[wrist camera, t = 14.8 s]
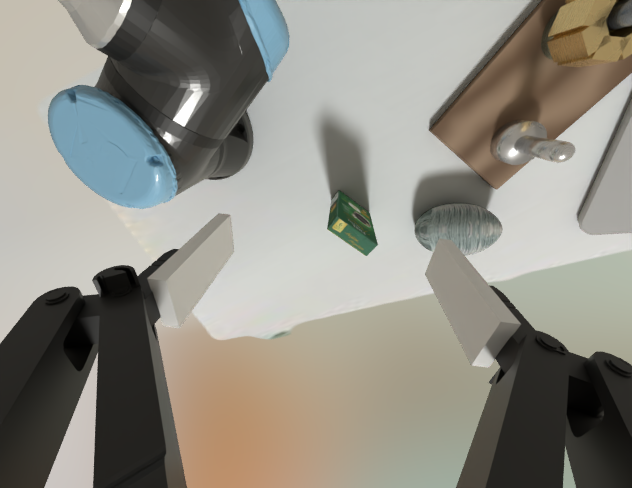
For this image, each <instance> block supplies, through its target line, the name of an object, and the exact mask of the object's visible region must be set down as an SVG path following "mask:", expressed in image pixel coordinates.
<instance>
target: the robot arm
mask: <svg viewBox="0 0 632 488" xmlns="http://www.w3.org/2000/svg"><path fill="white" fill-rule="evenodd" d="M58 1H59V2H60V3H61V4H62V5H63V6H64V7H65V8H66V9H67V11H68V13H69V14H70V16H71V18H72V19H73V21H74V23H75V24H76V26H77V28H78V29H79V31H80V32H81V34H82V36H83V38H84V39H85V41H86V42H87V43H88V44H89V45H91V46H92V47H94V48H96V49H97V50H99V51H101V52H103V53H104V54H106V55H108V58H107V61H106V63H105V65H104V68H103V70H102V72H101V75H100V77H99V80H98V82H97V84H96V86H95V87H90V86H87V85H78V86H75V87H72V88H70V89H66V90H63V91H61V92H59V93H58V94H57V95H56V96H55V97H54V98H53V99H52V101H51V103H50V106H49V110H48V124H49V129H50V133H51V136H52V139H53V141H54V144H55V146H56V148H57V150H58V152H59V153H60V154H61V155H62V157H63V158H64V160H65V162H66V164H67V165H68V167H69V168H70V169H71V170H72V172H73V173H74V174H75V175H76V176H77V177H78V178H79V179H80V180H81V181H82V182H83V183H84V184H85V185H86V186H88V187H89V188H90V189H91V190H93V191H94V192H95V193H97V194H98V195H100V196H102V197H103V198H105V199H107V200H109V201H111V202H113V203H115V204H118V205H121V206H124V207H128V208H132V207H133V208H139V209H144V208H150V207H153V206H156V205H158V204H161V203H165V202H168V201H170V200H171V199H172V198H174V196H176V195H178V194H179V193H181V192H183V191H185V190H186V189H188V188H190V187H192V186H193V185H195V184H197V183H199V182H200V181H202V180H204V179H210V180H220V179H225V178H228V177H230V176H232V175H234V174H236V173H237V172H239V171H240V170H241V169H242V168H243V167H244V166H245V165H246V164H247V162H248V160H249V158H250V156H251V153H252V149H253V132H252V127H251V124H250V121H249V118H248V116H247V114H246V112H245V111H246V110H247V108H248V107H249V105H250V104H251V103H252V101H253V100H254V99H255V97H256V96H257V94H258V93H259V92H260V90H261V89H262V87H263V86H264V85H265V83H266V82H270V81H271V79H272V75H273V72H274V71H275V69H276V68H277V66H278V65H279V63H280V62H281V60H282V59H283V57H284V56H285V54H286V52H287V50H288V47H289V32H288V27H287V24H286V21H285V19H284V17H283V14H282V12H281V10H280V8H279V6H278V4H277V2H276V1H275V0H58ZM233 252H234V245H233V235H232V225H231V215H228V214H217V215H216V216H215V217H214V218H213V219H212V220H211V221H210V222H209V223H208V224H206V225H205V226H204V227H203V228H202V229H201V230H200V231H199V232H198V233H197V234H196V235H194V236H193V237H192V238H191V239H190V240H189V241H188V242H187V243H186V244H185V245H183V246H182V247H181V248H180V249H173V250H170V251H168V252H166V253H164V254H163V255H162V256H161V257H160V258H158V259H157V261H155V262H154V263H153V264H152V265H151V266H149V267H148V268H147V269H146V270H144V271H143V272H142V273H141V274H140V275H139V276H137V275H136V272H135V270H134V268H133V267H131V266H125V265H121V266H114V267H111V268H108V269H105V270H103V271H101V272H99V273H98V274H97V275H96V276H94V278H93V280H92V281H93V283H94V285H95V287H96V289H97V291H98V293H99V294H97V295H87V296H83V295H82V294H81V292H80V290H79V289H78V288H76V287H62V288H57V289H54V290H51V291H49V292H47V293H45V294H43V295H41V296H40V297H38V298H37V299H36V300H35V301H34V302H33V303H32V305H31V306H30V307H29V308H28V310H27V311H26V312H25V313H24V315H23V316H22V317H21V318H20V320H19V321H18V322H17V323H16V325H15V326H14V327H13V328H12V330H11V331H10V332H9V334H8V335H7V336H6V337H5V339H4V340H3V341H2V342H1V344H0V488H44V486H45V484H46V482H47V479H48V477H49V474H50V471H51V469H52V466H53V464H54V461H55V459H56V456H57V454H58V451H59V449H60V446H61V444H62V441H63V439H64V436H65V434H66V431H67V429H68V426H69V424H70V421H71V418H72V416H73V413H74V411H75V408H76V406H77V403H78V401H79V398H80V396H81V393H82V391H83V388H84V386H85V383H86V381H87V378H88V376H89V373H90V371H91V368H92V366H93V363H94V360H95V358H96V355H97V353H98V373H97V400H96V427H95V455H94V481H93V488H187V486H186V481H185V476H184V470H183V465H182V460H181V455H180V450H179V445H178V440H177V434H176V429H175V424H174V419H173V413H172V408H171V403H170V398H169V393H168V387H167V382H166V378H165V372H164V367H163V362H162V356H161V351H160V346H159V341H158V336H157V331H156V327H155V323H156V321H157V320H158V319H159V318H161V321H162V324H163V326H167V327H174V328H180V327H181V326H182V324H183V323H184V321H185V320H186V319H187V317H188V316H189V314H190V313H191V312H192V310H193V309H194V307H195V306H196V305H197V303H198V302H199V300H200V299H201V298H202V296H203V295H204V293H205V292H206V290H207V289H208V288H209V286H210V285H211V283H212V282H213V281H214V279H215V278H216V276H217V275H218V274H219V272H220V271H221V269H222V268H223V267H224V265H225V264H226V262H227V261H228V259H229V258H230V257H231V255H232V254H233ZM425 275H426V277H427V279H428V281H429V283H430V285H431V287H432V289H433V291H434V293H435V295H436V297H437V299H438V301H439V303H440V305H441V307H442V308H443V311H444V313H445V315H446V316H447V319H448V320H449V322H450V324H451V326H452V328H453V330H454V332H455V334H456V336H457V338H458V340H459V342H460V344H461V346H462V348H463V350H464V352H465V354H466V356H467V358H468V360H469V362H470V364H471V365H472V366H480V367H488V368H489V367H490V365H491V364H492V363H493V361H494V360H495V359H496V360H497V362H498V363H499V365H500V368H499V370H498V371H497V372H496V374H495V375H494V376H493V377H492V379H491V380H490V381H489V383H490V384H492V383H493V384H492V387H491V390H490V392H489V396H488V398H487V401H486V404H485V407H484V410H483V412H482V415H481V418H480V421H479V424H478V427H477V430H476V432H475V435H474V438H473V441H472V444H471V447H470V449H469V452H468V455H467V458H466V461H465V464H464V467H463V469H462V472H461V475H460V478H459V481H458V484H457V487H456V488H563V473H564V472H563V471H564V452H565V446H566V450H567V454H568V457H569V461H570V465H571V469H572V473H573V477H574V481H575V484H576V488H632V366H631V365H630V364H629V363H627V362H626V361H624V360H622V359H621V358H618V357H616V356H614V355H612V354H608V353H605V352H595V353H594V354H593V355H592V356H591V357H590V358H589V359H588V358H585V357H582V356H579V355H576V354H573V353H570V352H569V351H568V350H567V349H566V347H565V346H564V345H563V344H562V343H561V342H559V341H558V340H557V339H555V338H554V337H552V336H550V335H548V334H546V333H543V332H540V331H536V330H535V329H534V328H533V327H532V326H531V325H530V324H529V322H528V321H527V320H526V319H525V318H524V317H523V316H522V314H521V313H520V312H519V311H518V310H517V309H515V306H514V305H513V304H512V303H510V301H509V299H508V298H507V297H506V296H505V295H504V294H503V293H502V292H501V291H499V290H498V289H497V288H495V287H494V286H489V285H488V284H487V282H486V281H485V280H484V279H483V278H482V276H481V275H480V274H479V273H478V272H477V270H476V269H475V268H474V267H473V265H472V264H471V263H470V262H469V261H468V259H467V258H466V257H465V256H464V255H463V253H462V252H461V251H460V250H459V249H458V247H457V246H456V245H455V244H454V243H453V241H452V240H447V239H439V240H438V242H437V245H436V247H435V250H434V252H433V255H432V257H431V260H430V263H429V265H428V268H427V270H426V273H425Z"/></svg>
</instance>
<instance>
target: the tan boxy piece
mask: <svg viewBox="0 0 632 488" xmlns="http://www.w3.org/2000/svg"><path fill="white" fill-rule="evenodd" d="M621 1H624V0H566V1H565V2H566V5H564V6H562V7H560V9H559V12H558V14H557V16H556V19H555V21H554V23H553V25H552V28H551V30H550V32H549V34H548V37H553V38H552V39H551V40H549V41H548V42H547V44H548V47H549V50H550V53H551V56H552V59H553V62H554V63H555V62H558V64H557V65H559V66H569V67H584V66H590V65H597V64H603V63H610V62H617V61H618V60H623V59H625V58H626V57H628V56H629V55H631V54H632V25H631V26H628V27H624V28H620V29H616V30H613V31H609V32H608V27H607V23H606V19H607V17H608V15H609V13H610V11H611V10H612V8H613V6H614V4H615V3H618V2H621Z"/></svg>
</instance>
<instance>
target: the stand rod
mask: <svg viewBox="0 0 632 488" xmlns="http://www.w3.org/2000/svg"><path fill="white" fill-rule="evenodd" d="M490 152H491V154H492V156H493V157H494V158H495V159H497V160H499V161H502V162H505V163H508V164H511V165H520V164H524V163H526V162H528V161H530V160H532V159H533V158H534V157H537V158H540V159H544V160H548V161H552V162H556V163H559V162H564V161H566V160H568V159H570V158H571V157H572V156H573V155H574V153H575V147H574V145H573V144H572V143H570V142H565V141H559V140H553V139H547V131H546V129H545V127H544V126H543V125H542V124H541V123H539V122H535V121H524V120H515V121H511V122H509V123H506V124H505V125H503V126H502V127H501V128H500V129H498V131H497V132H496V133H495V134H494V136H493V138H492V140H491V143H490Z"/></svg>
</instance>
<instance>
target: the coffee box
mask: <svg viewBox="0 0 632 488" xmlns="http://www.w3.org/2000/svg"><path fill="white" fill-rule="evenodd" d="M327 229H328V230H329V231H331V232H332V233H333V234H335V235H336V236H338V237H339V238H341V239H342V240H344V241H345V242H346V243H348V244H349V245H351V246H352V247H354V248H355V249H357V250H358V251H360V252H361V253H362V254H364V255H365V256H367V255H368V254H369V253H370V252H371V251H372V250H373V249H374V248H375V247H376V246H377V245H378V244H377V240H376V236H375V232H374V228H373V224H372V220H371V216H370V213H369V212H368V211H366V210H365V209H364V208H363V207H361V206H360V205H358V204H357V203H356V202H354V201H353V200H352V199H350V198H349V197H348V196H346V195H345V194H344V193H342V192H341V191H340V190H339V191H338V192H337V193H336V195H335V196H334V198H333V199H332V201H331V207H330V214H329V221H328V228H327Z"/></svg>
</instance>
